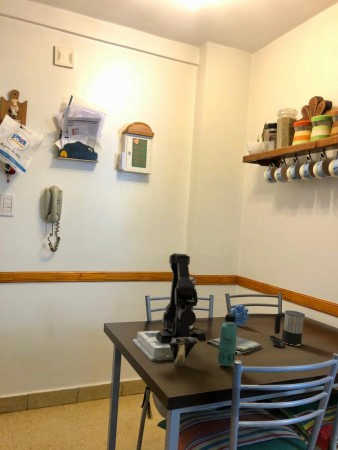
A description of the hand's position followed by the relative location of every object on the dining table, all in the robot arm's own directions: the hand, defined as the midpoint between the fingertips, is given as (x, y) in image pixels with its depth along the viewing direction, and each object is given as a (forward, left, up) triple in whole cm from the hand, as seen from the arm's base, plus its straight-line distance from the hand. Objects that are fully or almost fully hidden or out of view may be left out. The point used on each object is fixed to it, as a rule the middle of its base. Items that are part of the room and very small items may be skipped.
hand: (179, 358), depth 145 cm
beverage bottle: (-17, +6, -2) cm, 18 cm away
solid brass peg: (0, 0, -2) cm, 2 cm away
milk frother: (-61, -11, -2) cm, 62 cm away
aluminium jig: (+3, -16, -2) cm, 16 cm away
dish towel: (-34, -14, -3) cm, 37 cm away
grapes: (-55, -40, -2) cm, 68 cm away
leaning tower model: (-24, -44, -2) cm, 50 cm away
